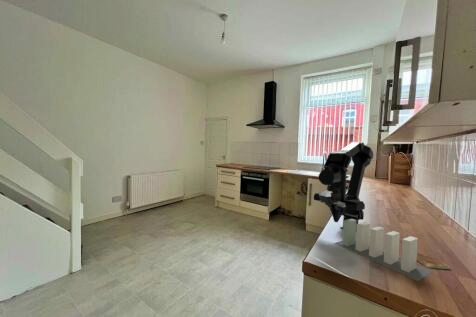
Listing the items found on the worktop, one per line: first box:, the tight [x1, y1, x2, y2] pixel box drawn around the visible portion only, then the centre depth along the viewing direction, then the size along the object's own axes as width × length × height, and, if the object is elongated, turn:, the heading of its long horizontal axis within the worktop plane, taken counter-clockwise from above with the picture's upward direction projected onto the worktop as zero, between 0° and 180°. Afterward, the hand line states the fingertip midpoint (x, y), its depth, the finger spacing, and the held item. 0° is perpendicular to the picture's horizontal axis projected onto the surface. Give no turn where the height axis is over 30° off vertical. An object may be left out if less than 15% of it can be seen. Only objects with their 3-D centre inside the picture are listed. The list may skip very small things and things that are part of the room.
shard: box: [416, 252, 451, 270], centre depth 66 cm, size 11×8×2 cm
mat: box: [334, 240, 434, 282], centre depth 67 cm, size 10×25×1 cm, turn 29°
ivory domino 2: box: [369, 226, 385, 258], centre depth 68 cm, size 5×2×9 cm, turn 119°
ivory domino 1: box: [355, 222, 371, 252], centre depth 72 cm, size 5×2×9 cm, turn 119°
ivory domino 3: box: [383, 230, 401, 265], centre depth 64 cm, size 5×2×9 cm, turn 119°
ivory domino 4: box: [401, 235, 419, 272], centre depth 60 cm, size 5×2×9 cm, turn 119°
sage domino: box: [342, 219, 356, 246], centre depth 75 cm, size 5×2×9 cm, turn 119°
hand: (336, 222), depth 81 cm, fingers closed
